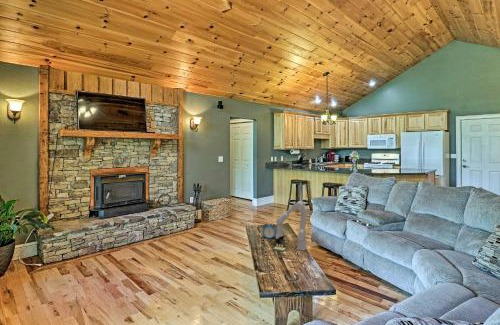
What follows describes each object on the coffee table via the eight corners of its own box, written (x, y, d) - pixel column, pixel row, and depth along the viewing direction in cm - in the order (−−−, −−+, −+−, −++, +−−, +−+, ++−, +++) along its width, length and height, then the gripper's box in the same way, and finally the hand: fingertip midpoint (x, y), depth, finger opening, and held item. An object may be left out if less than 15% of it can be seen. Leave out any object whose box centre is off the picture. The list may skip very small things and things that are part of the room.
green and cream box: (276, 247, 268) (276, 242, 268) (286, 249, 264) (286, 244, 263) (272, 250, 261) (272, 244, 261) (283, 251, 257) (283, 246, 256)
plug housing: (272, 243, 279) (272, 237, 278) (284, 245, 273) (284, 239, 272) (271, 244, 275) (271, 238, 275) (283, 247, 269) (283, 240, 269)
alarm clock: (262, 238, 294) (262, 224, 293) (262, 236, 300) (262, 222, 300) (275, 238, 294) (275, 224, 293) (275, 236, 300) (275, 222, 299)
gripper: (278, 227, 281) (278, 241, 281) (272, 231, 268) (272, 245, 269) (285, 228, 277) (285, 242, 278) (279, 232, 264) (279, 247, 265)
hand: (279, 244), depth 273 cm, fingers open, 7 cm apart
